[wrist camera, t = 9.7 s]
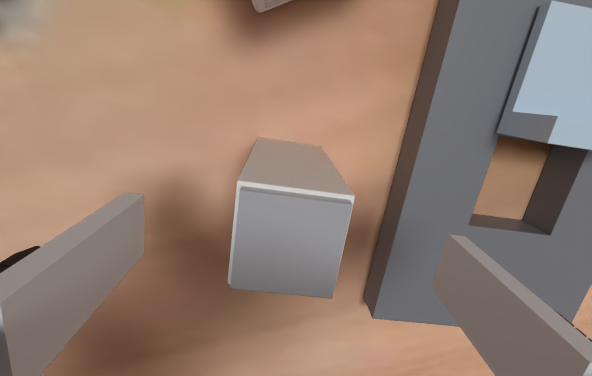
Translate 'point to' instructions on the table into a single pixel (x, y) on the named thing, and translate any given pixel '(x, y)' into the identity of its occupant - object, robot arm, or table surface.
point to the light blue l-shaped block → (554, 80)
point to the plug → (289, 221)
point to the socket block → (477, 174)
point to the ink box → (267, 4)
